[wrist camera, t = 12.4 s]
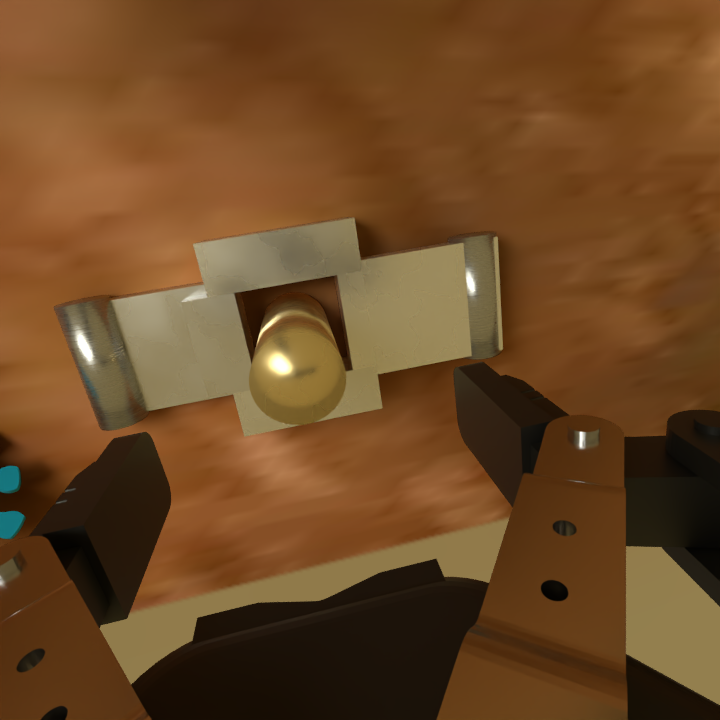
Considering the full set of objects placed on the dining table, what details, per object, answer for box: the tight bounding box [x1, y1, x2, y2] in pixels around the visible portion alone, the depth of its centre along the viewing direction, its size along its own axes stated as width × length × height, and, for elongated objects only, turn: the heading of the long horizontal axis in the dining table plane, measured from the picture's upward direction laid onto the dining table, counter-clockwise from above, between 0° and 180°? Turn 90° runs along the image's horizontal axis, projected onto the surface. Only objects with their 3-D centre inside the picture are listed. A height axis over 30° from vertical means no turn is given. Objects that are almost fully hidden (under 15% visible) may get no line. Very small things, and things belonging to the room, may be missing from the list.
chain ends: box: [54, 217, 503, 436], centre depth 23 cm, size 10×22×3 cm, turn 99°
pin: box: [249, 292, 346, 425], centre depth 20 cm, size 4×4×9 cm
